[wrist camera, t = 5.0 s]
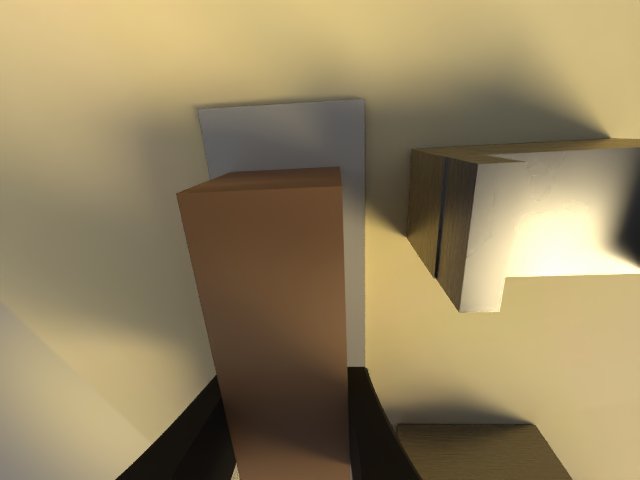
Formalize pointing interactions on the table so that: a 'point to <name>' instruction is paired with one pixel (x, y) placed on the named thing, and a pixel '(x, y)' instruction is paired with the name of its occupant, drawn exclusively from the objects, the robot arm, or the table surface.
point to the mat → (303, 152)
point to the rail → (276, 316)
